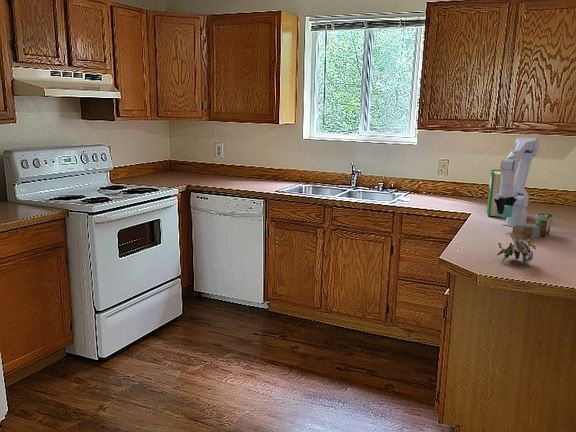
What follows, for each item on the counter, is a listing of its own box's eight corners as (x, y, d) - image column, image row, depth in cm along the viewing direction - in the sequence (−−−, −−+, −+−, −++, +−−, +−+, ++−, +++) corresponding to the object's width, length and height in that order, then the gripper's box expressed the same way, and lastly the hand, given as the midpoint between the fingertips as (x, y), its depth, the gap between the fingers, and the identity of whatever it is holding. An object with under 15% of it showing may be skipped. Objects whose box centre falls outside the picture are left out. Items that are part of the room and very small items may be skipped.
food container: (535, 231, 243) (538, 211, 241) (549, 234, 240) (552, 212, 238) (529, 236, 234) (532, 214, 232) (544, 238, 230) (547, 216, 228)
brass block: (518, 236, 234) (519, 225, 233) (528, 238, 230) (529, 227, 229) (511, 237, 231) (512, 226, 230) (521, 239, 227) (523, 228, 226)
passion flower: (525, 281, 188) (537, 259, 178) (490, 271, 191) (501, 249, 181) (528, 256, 196) (540, 233, 186) (495, 247, 199) (505, 224, 189)
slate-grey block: (529, 235, 237) (531, 224, 236) (539, 237, 232) (540, 226, 231) (522, 236, 234) (523, 225, 233) (532, 238, 230) (533, 227, 229)
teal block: (502, 214, 246) (503, 204, 245) (511, 216, 242) (512, 206, 241) (495, 215, 243) (496, 205, 242) (504, 217, 239) (506, 207, 238)
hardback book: (502, 218, 275) (507, 173, 270) (487, 216, 277) (492, 172, 272) (500, 212, 291) (505, 170, 286) (486, 211, 293) (491, 169, 289)
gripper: (504, 186, 233) (501, 216, 235) (524, 185, 240) (520, 213, 243) (491, 184, 238) (488, 213, 241) (510, 183, 246) (507, 210, 249)
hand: (503, 213), depth 242 cm, fingers closed on teal block, 5 cm apart
